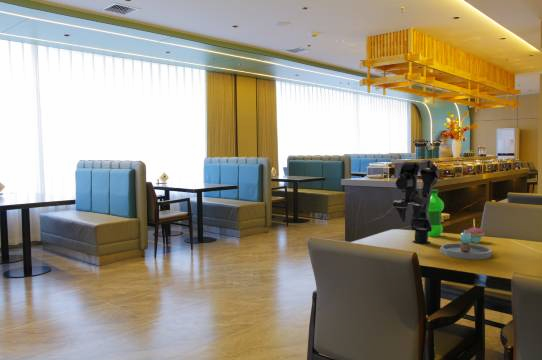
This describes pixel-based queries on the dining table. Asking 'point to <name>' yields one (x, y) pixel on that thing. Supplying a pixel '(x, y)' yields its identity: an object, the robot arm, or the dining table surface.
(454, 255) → the groove tray
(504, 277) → the dining table surface
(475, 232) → the cupcake
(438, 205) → the plastic bottle
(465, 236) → the bead stack
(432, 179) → the robot arm
